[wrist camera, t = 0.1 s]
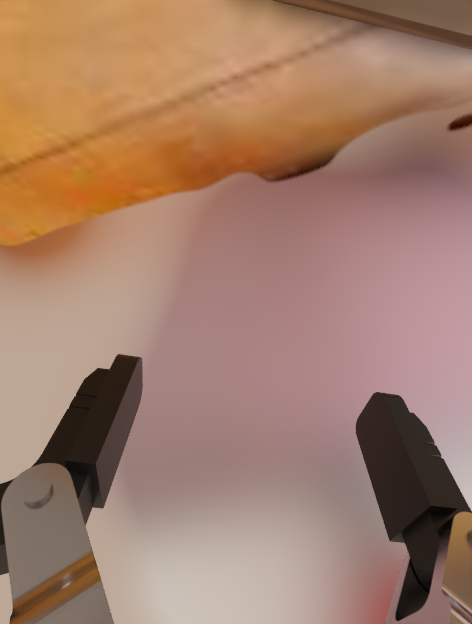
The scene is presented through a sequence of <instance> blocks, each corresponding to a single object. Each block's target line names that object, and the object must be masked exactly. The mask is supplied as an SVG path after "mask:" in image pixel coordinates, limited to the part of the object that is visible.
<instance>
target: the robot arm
mask: <svg viewBox="0 0 472 624" xmlns="http://www.w3.org/2000/svg"><path fill="white" fill-rule="evenodd" d="M141 395H142V358H141V357H134V356H128V355H121V354H118V355H117V356H116V358H115V360H114V362H113V364H112V366H111V368H110V370H109V369H102V368H97V369H96V370H95V371H94V372H93V373H91V374H90V375H89V376H88V377H87V378H85V379H84V381H83V383H82V384H81V386H80V388H79V390H78V392H77V393H76V397H74V399H73V400H72V402H71V404H70V406H69V409H67V411H66V413H65V414H64V416H63V418H62V420H61V421H60V423H59V425H58V427H57V429H56V430H55V432H54V434H53V435H52V437H51V439H50V441H49V442H48V444H47V446H46V448H45V450H44V451H43V453H42V455H41V456H40V458H39V459H38V460H37V462H36V463H35V464H34V465H33V466H32V467H31V468H29V469H27V470H26V471H24V472H22V473H21V474H20V475H19V476H17V477H16V478H15V479H13V480H10V481H8V482H5V483H2V484H0V575H2V574H6V573H9V576H10V584H11V592H12V601H13V612H12V615H11V617H10V624H114V622H113V619H112V615H111V612H110V609H109V605H108V602H107V598H106V595H105V591H104V588H103V584H102V581H101V577H100V574H99V571H98V567H97V564H96V561H95V558H94V554H93V551H92V547H91V544H90V540H89V537H88V533H87V530H86V523H87V520H88V518H89V515H90V512H91V510H92V507H95V508H104V505H105V502H106V499H107V496H108V493H109V491H110V487H111V485H112V482H113V479H114V476H115V473H116V470H117V468H118V465H119V462H120V459H121V456H122V453H123V450H124V447H125V444H126V442H127V439H128V436H129V433H130V430H131V427H132V424H133V422H134V419H135V416H136V413H137V410H138V407H139V404H140V400H141ZM356 434H357V438H358V442H359V445H360V448H361V451H362V454H363V458H364V461H365V464H366V467H367V470H368V473H369V476H370V480H371V483H372V486H373V489H374V492H375V495H376V499H377V502H378V505H379V508H380V512H381V515H382V518H383V521H384V524H385V528H386V530H387V534H388V537H389V540H390V541H393V542H402V543H405V544H406V547H407V550H408V552H407V553H406V554H405V555H404V558H403V561H402V565H401V569H400V572H399V576H398V579H397V583H396V586H395V590H394V594H393V597H392V601H391V604H390V608H389V612H388V615H387V618H386V621H385V623H384V624H472V511H471V510H470V508H469V507H468V504H467V503H466V501H465V499H464V497H463V495H462V493H461V491H460V489H459V488H458V486H457V484H456V482H455V480H454V478H453V476H452V474H451V473H450V471H449V469H448V467H447V465H446V463H445V461H444V459H442V458H441V454H440V452H439V450H438V448H437V446H435V445H434V440H433V438H432V437H431V435H430V433H429V431H428V429H427V427H426V426H425V425H424V424H423V423H422V422H421V421H420V419H419V418H418V417H417V416H416V415H415V414H414V413H410V412H409V410H408V408H407V406H406V404H405V402H404V400H403V399H402V398H401V397H400V396H399V395H394V394H386V393H380V392H376V393H374V394H373V395H372V397H371V398H370V400H369V401H368V403H367V405H366V406H365V408H364V409H363V411H362V413H361V414H360V416H359V417H358V419H357V422H356Z"/></svg>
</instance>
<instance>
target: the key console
mask: <svg viewBox="0 0 472 624" xmlns="http://www.w3.org/2000/svg"><path fill="white" fill-rule="evenodd" d="M274 1H278V2H282V3H286V4H290V5H295V6H299V7H303V8H307V9H311V10H315V11H319V12H323V13H327V14H331V15H335V16H339V17H343V18H347V19H352V20H356V21H360V22H364V23H368V24H372V25H376V26H380V27H384V28H388V29H392V30H396V31H400V32H404V33H409V34H413V35H417V36H421V37H425V38H429V39H433V40H437V41H441V42H445V43H449V44H453V45H457V46H461V47H465V48H470V49H472V0H274Z"/></svg>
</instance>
